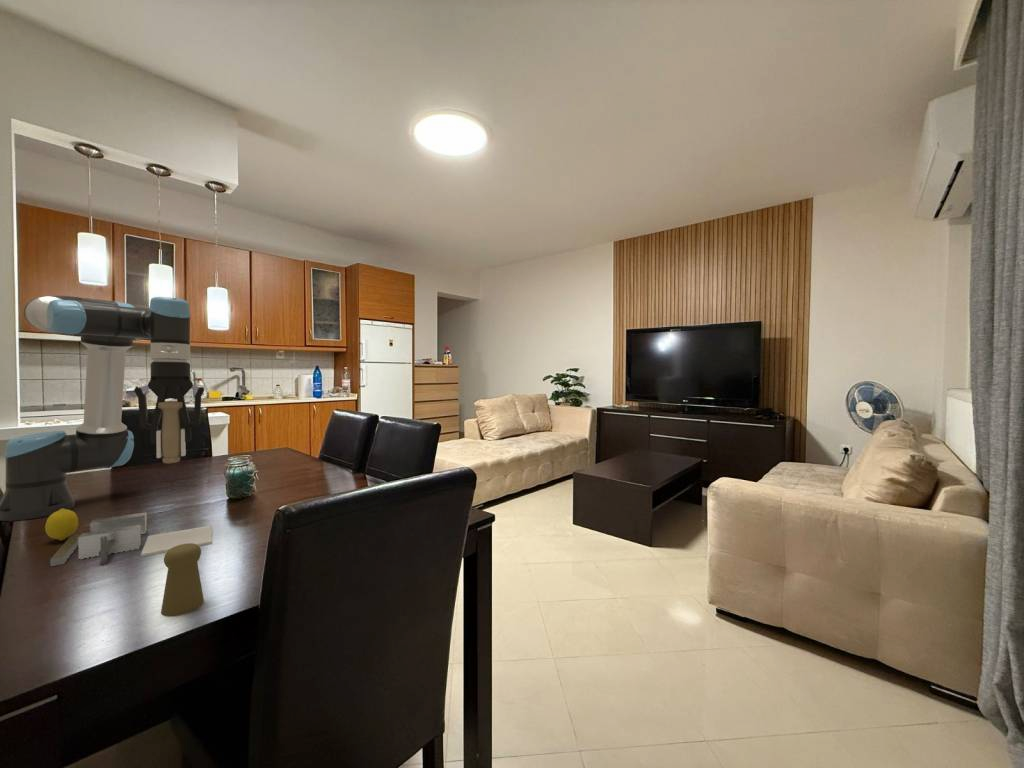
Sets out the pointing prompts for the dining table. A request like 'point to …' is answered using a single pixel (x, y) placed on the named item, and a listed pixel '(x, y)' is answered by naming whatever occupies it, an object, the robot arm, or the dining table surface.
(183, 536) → the mat
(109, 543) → the vise
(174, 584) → the cork
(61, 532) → the lemon
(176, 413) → the handle
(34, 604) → the dining table surface
